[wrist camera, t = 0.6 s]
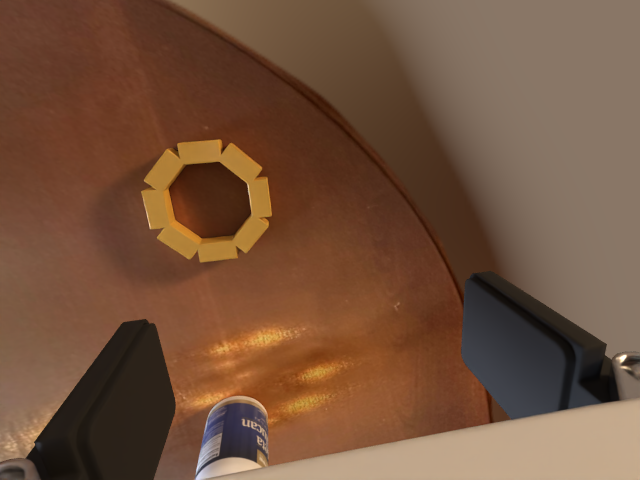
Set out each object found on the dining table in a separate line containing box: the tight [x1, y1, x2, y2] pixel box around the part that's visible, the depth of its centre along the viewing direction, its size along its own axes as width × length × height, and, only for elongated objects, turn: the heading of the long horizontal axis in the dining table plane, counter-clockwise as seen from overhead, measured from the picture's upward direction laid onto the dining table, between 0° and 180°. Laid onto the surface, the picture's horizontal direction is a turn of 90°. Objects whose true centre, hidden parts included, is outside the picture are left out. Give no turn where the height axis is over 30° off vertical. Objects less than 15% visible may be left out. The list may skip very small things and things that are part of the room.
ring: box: [142, 139, 272, 262], centre depth 25 cm, size 8×8×1 cm
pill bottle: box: [195, 396, 268, 480], centre depth 27 cm, size 5×5×10 cm
